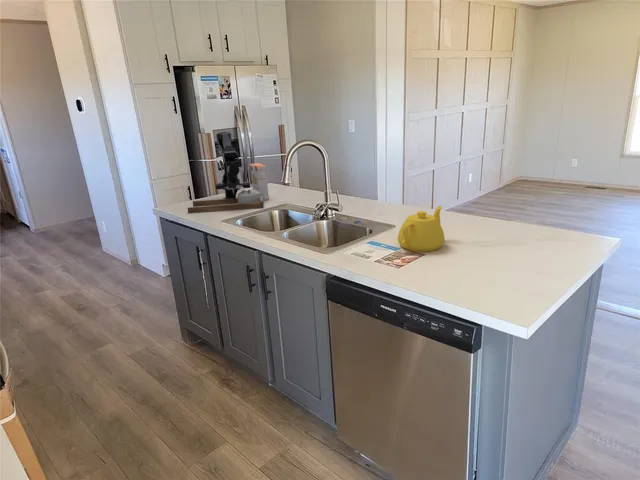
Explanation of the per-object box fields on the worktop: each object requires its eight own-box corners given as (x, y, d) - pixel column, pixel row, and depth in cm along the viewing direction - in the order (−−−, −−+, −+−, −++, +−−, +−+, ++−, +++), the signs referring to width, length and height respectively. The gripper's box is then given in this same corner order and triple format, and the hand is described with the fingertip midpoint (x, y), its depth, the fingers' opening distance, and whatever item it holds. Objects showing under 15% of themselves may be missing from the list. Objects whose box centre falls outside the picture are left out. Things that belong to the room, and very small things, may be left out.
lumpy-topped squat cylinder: (263, 204, 248) (262, 189, 245) (246, 209, 239) (245, 193, 236) (251, 202, 254) (249, 187, 252) (234, 206, 245) (232, 191, 242)
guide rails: (193, 206, 252) (192, 199, 250) (263, 201, 255) (263, 194, 254) (188, 213, 236) (187, 206, 235) (263, 208, 239) (262, 201, 238)
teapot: (422, 233, 183) (423, 201, 179) (459, 241, 171) (461, 208, 166) (384, 248, 168) (384, 214, 163) (422, 258, 155) (423, 222, 151)
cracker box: (252, 197, 268) (249, 163, 261) (262, 196, 270) (259, 162, 263) (259, 201, 255) (256, 166, 249) (269, 200, 258) (266, 165, 251)
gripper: (213, 176, 231) (216, 204, 236) (248, 174, 233) (250, 202, 238) (215, 172, 242) (218, 200, 247) (249, 171, 243) (251, 198, 248)
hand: (234, 200), depth 245 cm, fingers closed
